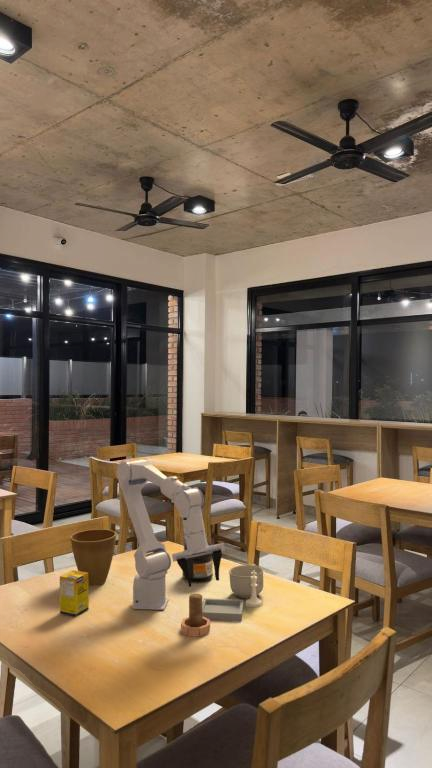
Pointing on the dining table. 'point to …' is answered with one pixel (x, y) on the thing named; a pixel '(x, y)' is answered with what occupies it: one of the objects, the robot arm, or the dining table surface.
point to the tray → (222, 609)
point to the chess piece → (253, 593)
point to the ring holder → (195, 630)
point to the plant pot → (94, 553)
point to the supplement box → (74, 593)
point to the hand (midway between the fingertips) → (203, 583)
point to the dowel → (195, 610)
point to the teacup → (245, 580)
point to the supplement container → (199, 566)
